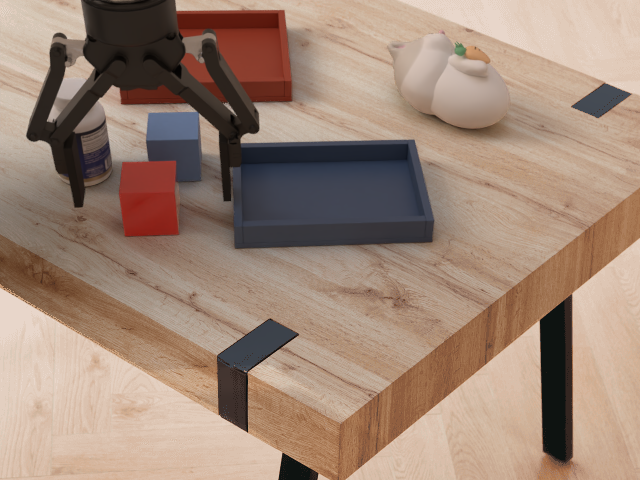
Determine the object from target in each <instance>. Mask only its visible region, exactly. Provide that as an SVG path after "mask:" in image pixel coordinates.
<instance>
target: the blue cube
mask: <svg viewBox="0 0 640 480" xmlns="http://www.w3.org/2000/svg"><path fill="white" fill-rule="evenodd" d="M201 135H202V134H201V122H200V114H199V113H198V112H197V111H169V112H167V111H166V112H165V111H164V112H159V111H158V112H148V113H147V123H146V135H145V146H146V153H147V161H176V163H177V174H178V183H179V182H201V181H202V168H203V167H202V166H203V165H202V163H203V160H202V157H203V149H202V137H201Z"/></svg>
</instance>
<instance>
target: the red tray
mask: <svg viewBox="0 0 640 480" xmlns="http://www.w3.org/2000/svg"><path fill="white" fill-rule="evenodd" d="M176 12H177V21H178V29H179V31H180V33H181V35H182V36H183V37H192V36H200V35H202V33H203V31H204V30H205V29H212V30H214V31H215V33H216V36H217V41H218V46H219V51H220V53H221V54H222V56H223V57H224V59H225V61H226V62H227V64H228V65H229V67H230V68H231V70H232V71H233V73H234V75H235V76H236V78H237V79H238V81H239V82H240V84H241V85H242V87H243V89H244V90H245V92H246V93H247V95H248V96H249V98H250V99H251V101H252V102H255V103H260V102H263V103H264V102H268V103H269V102H292V101H293V81H292V71H291V60H290V59H291V58H290V51H289V39H288V30H287V19H286V10H285V9H233V10H232V9H231V10H230V9H229V10H227V9H225V10H223V9H222V10H221V9H219V10H218V9H217V10H216V9H215V10H213V9H211V10H210V9H209V10H176ZM181 63H182V64H183V65H184V66H185V67H186V68H187V70H188V72H189V73H190V74H191V75H192V76H193V77H194V78H195V79H197V80H198V81H199V82H200V83H201V84H202V85H203V86H204V87H205V88H206V89H208V90H209V91H210V92H211V93H212V94H213V95H214V96H215V97H216V98H217V99H218V100H220V101H221V102H222V103H228V102H227V100H226V99H225V97H224V96H223V94H222V93H221V91H220V90H219V88H218V87H217V85H216V84H215V82H214V81H213V79H212V78H211V76H210V74H209V73H208V71H207V69H206V66H205V62H204V63H199V62H198V61H197V60H196V59H195V57H194V56H193V55H192V54H190V53H185V56H184V58H183V59H182V60H181ZM118 89H119V96H120V104H121V105H143V104H144V105H147V104H149V105H150V104H151V105H153V104H155V105H156V104H188V103H187V102H186V101H185V100H183V99H182V98H181V97H180V96H179V95H174V94H173V93H172V92H171V91H170V90H169V89H167V88H166V87H165V86H164V85H162V86H160V87H157V90H146V89H141V88H137V89H134V90H130V91H121V90H120V88H118Z"/></svg>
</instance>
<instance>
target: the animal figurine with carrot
mask: <svg viewBox="0 0 640 480" xmlns="http://www.w3.org/2000/svg"><path fill="white" fill-rule="evenodd" d="M386 45H387V46H386V49H387V51H388V53H389V54H390V56H391V58H392V61H391V67H392V69H393V78H394V82H395V86H396V89H397V91H398V93H399V95H400V96H401V97H402V98H403V99H404V100H405V102H407V103H408V104H409V105H410V106H411V107H412V108H414V109H415V110H417V111H419V112H420V113H422V114H425V115H431V116H436V117H437V118H439V119H440V120H441V121H443V122H445V123H447V124H448V125H451V126H454V127H456V128H457V127H458V128H462V129H472V130H473V129H474V130H475V129H483V128H488V127H490V126H493V125H495V124H497V123H498V122H500V121H501V120H502V119H504V117H505V116H506V115H507V113H508V111H509V109H510V107H511V95H510V90H509V88H508V85H507V82H506V81H505V80H504V78H503V76H502V75H501V73H499V71H498V70H497V68H495V67H494V66H493V65H492V64H490V63H491V58H490V57H489V56H488V54H487V53H486V52H484V51H483V50H481V49H480V48H479V47H478V46H475V45H467V46H464V45H463V43H462V42H460V43H459V41H456V42H454V43H453V42H452V40H451V39H450V38H449V37H448V36H447V35H446V32H445V30H444V29H440V30H439V31H438V32H435V33H434V32H433V33H427V34H425V35H423V36H421V37H418V38H416V39H414V40H411V41H400V40H399V41H398V40H392V41H389V42H388V43H387V44H386Z"/></svg>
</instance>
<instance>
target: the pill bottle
mask: <svg viewBox="0 0 640 480" xmlns="http://www.w3.org/2000/svg"><path fill="white" fill-rule="evenodd" d="M87 79H88V78H84V77H80V76H79V77H78V76H72V77H71V76H70V77H64V78H63V81H62V84H61V86H60V89H59V91H58V94H57V97H56V99H55V102H54V104H53V107H52V109H51V112H50V115H49V117H48V120H47V121H48V122H52V121H53V119H56V118H57V117H58V116H59V114H60V113H61V112H62V111H63V109H64V108H65V107H66V106H67V104H68V103H69V102H70V101H71V99H72V98H73V97H74V96H75V94H76V93H77V92H78V90H79V89H80V88H81V87H82V85H83V84H84V83H85V82H86V80H87ZM54 121H55V120H54ZM107 123H108V122H107V117H106V111H105V108H104V105H102V103H101V102H99V100H98V101H97V102H96V103H95V105H94V106H93V107H92V108H91V110H90V111H89V112H88V113H87V114H86V116H85V117H84V118H83V119H82V121H81V122H80V123H79V124H78V126H77V127H76V128H75V129H74V131H73V132H75V135H76V141H77V146H78V152H79V157H80V163H81V168H82V174H83V179H84V185H85V187H91V186H95V185H98V184H100V183H102V182H104V181H105V180H106V179H108V178H109V177H110V175H111V174H112V171H113V159H112V158H113V157H112V152H111V146H110V137H109V132H108V131H109V130H108V124H107ZM57 175H58V177H59V178H60V180H61V181H62V182H63V183H65V184H67V185H70V182H69V177H68V174H58V173H57Z"/></svg>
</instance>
